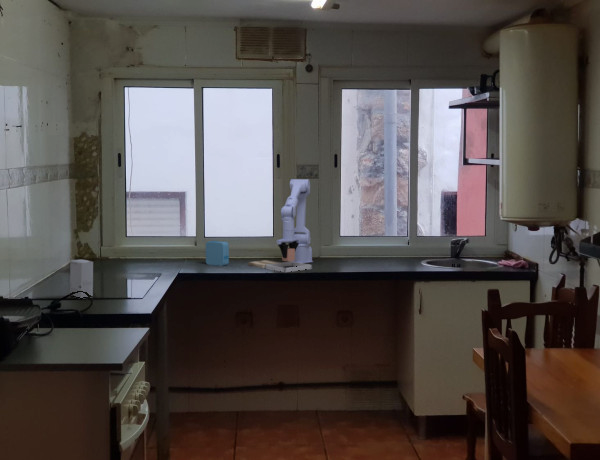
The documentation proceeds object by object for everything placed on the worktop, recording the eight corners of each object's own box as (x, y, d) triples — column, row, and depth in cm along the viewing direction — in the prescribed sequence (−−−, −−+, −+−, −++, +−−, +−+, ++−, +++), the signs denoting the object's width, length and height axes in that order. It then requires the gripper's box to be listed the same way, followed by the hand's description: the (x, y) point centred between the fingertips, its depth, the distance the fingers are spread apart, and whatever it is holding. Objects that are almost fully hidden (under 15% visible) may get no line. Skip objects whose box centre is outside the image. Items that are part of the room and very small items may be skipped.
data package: (229, 265, 399) (228, 242, 398) (223, 266, 395) (223, 243, 394) (211, 263, 406) (211, 240, 404) (205, 264, 402) (205, 241, 401)
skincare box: (69, 296, 313) (68, 260, 311) (82, 294, 317) (81, 258, 316) (81, 299, 307) (80, 262, 306) (94, 297, 312) (93, 260, 310)
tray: (292, 265, 398) (292, 261, 398) (311, 268, 386) (311, 264, 386) (265, 268, 386) (265, 264, 386) (284, 272, 375) (284, 268, 374)
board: (266, 263, 406) (266, 260, 406) (280, 265, 397) (280, 262, 397) (248, 265, 398) (248, 262, 398) (262, 267, 389) (262, 264, 389)
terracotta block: (288, 259, 389) (289, 247, 388) (294, 260, 386) (294, 248, 385) (282, 260, 386) (282, 248, 385) (287, 261, 383) (288, 249, 382)
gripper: (293, 228, 392) (293, 255, 393) (272, 230, 382) (272, 257, 383) (303, 229, 387) (303, 256, 389) (282, 231, 377) (282, 259, 378)
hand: (288, 257), depth 386 cm, fingers closed on terracotta block, 5 cm apart
